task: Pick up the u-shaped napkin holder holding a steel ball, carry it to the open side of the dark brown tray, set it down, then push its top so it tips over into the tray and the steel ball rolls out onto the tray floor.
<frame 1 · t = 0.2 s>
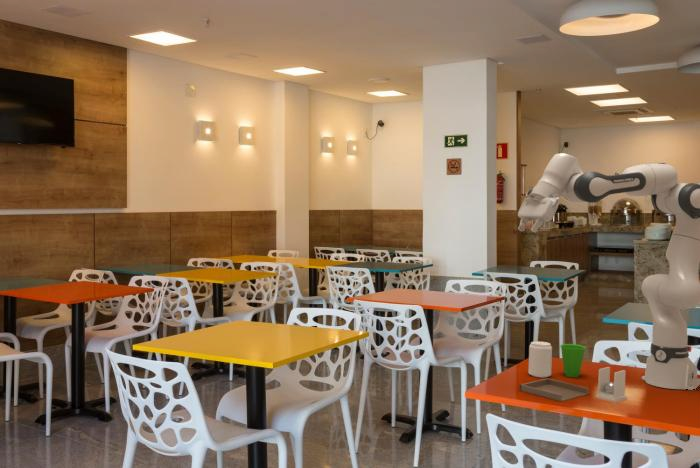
hand: (526, 231, 231), 54 cm above the table, tool tilted 30°, fingers open, 8 cm apart
tray: (553, 392, 228), on the table
cup: (571, 376, 253), on the table
u-shaped napkin holder: (611, 398, 223), on the table, touching ball
beverage can: (539, 376, 252), on the table
ball: (611, 388, 223), point 3 cm above the table, touching u-shaped napkin holder
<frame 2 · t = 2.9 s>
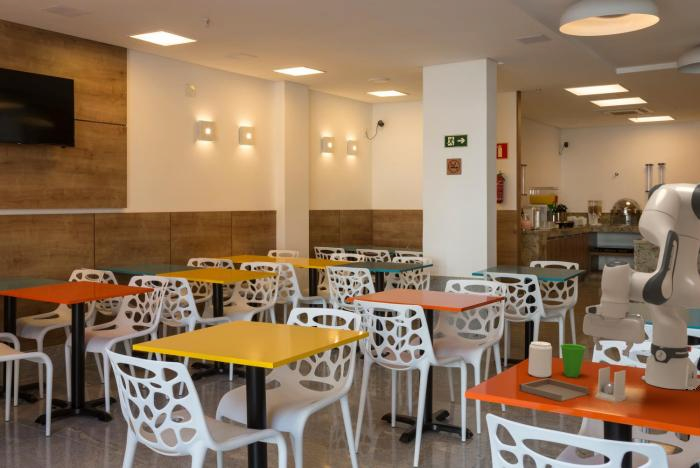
hand: (612, 352, 222), 15 cm above the table, tool pointing down, fingers open, 8 cm apart
ball: (610, 389, 223), point 3 cm above the table, tilted 15°, touching u-shaped napkin holder
everything else where it was.
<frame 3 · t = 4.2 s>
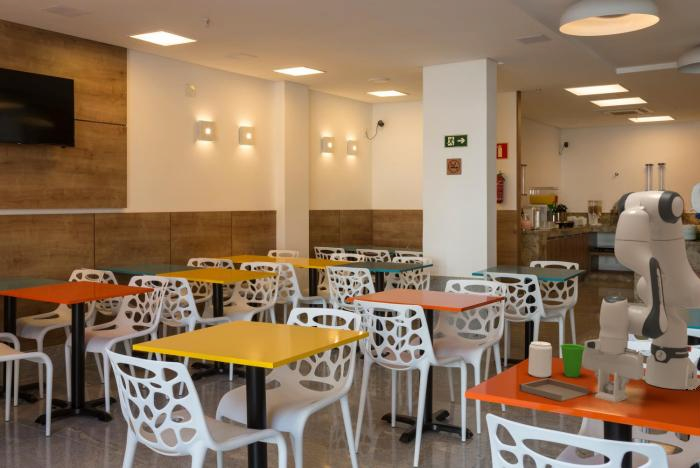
hand: (611, 387, 223), 3 cm above the table, tool pointing down, fingers closed on u-shaped napkin holder, 6 cm apart
u-shaped napkin holder: (610, 398, 223), on the table, touching ball, gripper
ball: (612, 388, 223), point 3 cm above the table, tilted 16°, touching u-shaped napkin holder
everything else where it was.
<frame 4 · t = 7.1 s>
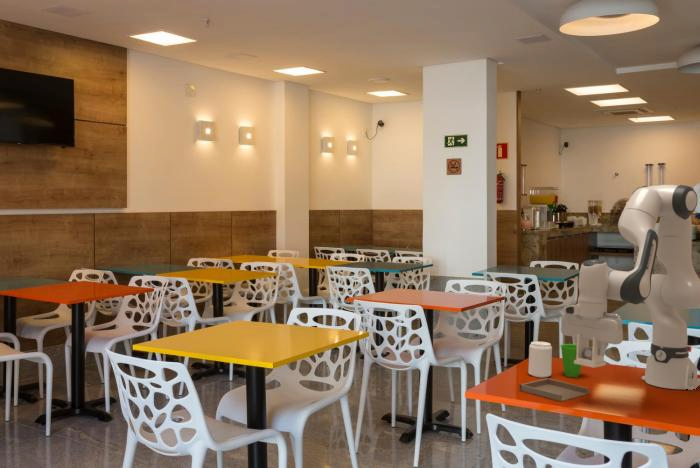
hand: (590, 353, 218), 15 cm above the table, tool pointing down, fingers closed on u-shaped napkin holder, 6 cm apart
u-shaped napkin holder: (589, 364, 218), point 12 cm above the table, touching ball, gripper
ball: (590, 353, 218), point 15 cm above the table, tilted 15°, touching u-shaped napkin holder
everything else where it was.
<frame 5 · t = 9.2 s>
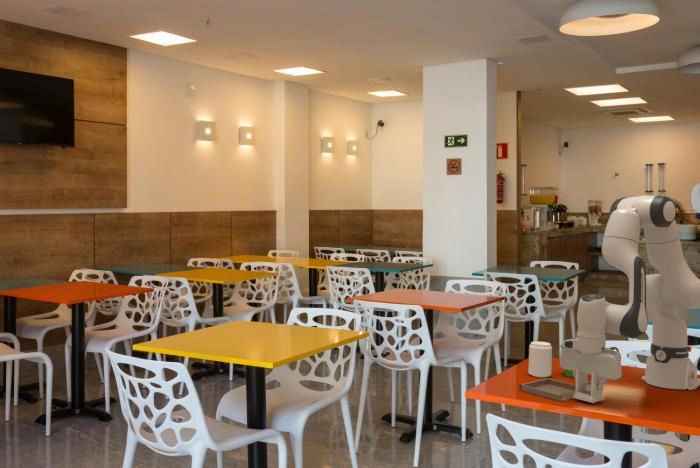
hand: (589, 387, 218), 4 cm above the table, tool pointing down, fingers closed on u-shaped napkin holder, 6 cm apart
u-shaped napkin holder: (588, 398, 218), point 1 cm above the table, touching ball, gripper
ball: (591, 388, 218), point 4 cm above the table, tilted 18°, touching u-shaped napkin holder
everything else where it was.
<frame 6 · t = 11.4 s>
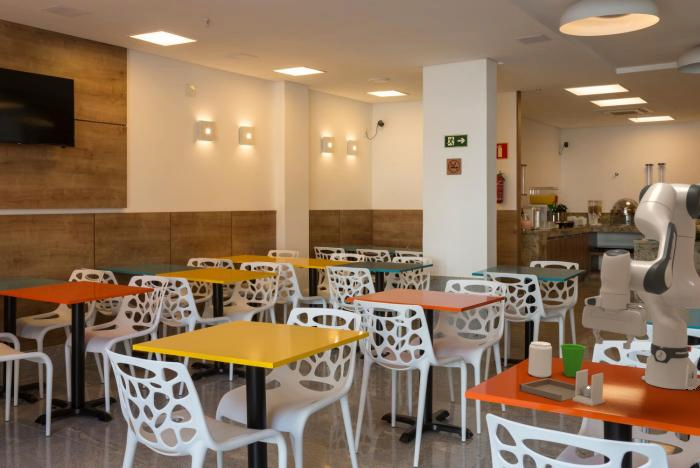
hand: (612, 346, 212), 19 cm above the table, tool pointing down, fingers open, 8 cm apart
ball: (588, 392, 218), point 3 cm above the table, tilted 7°, touching u-shaped napkin holder
everything else where it was.
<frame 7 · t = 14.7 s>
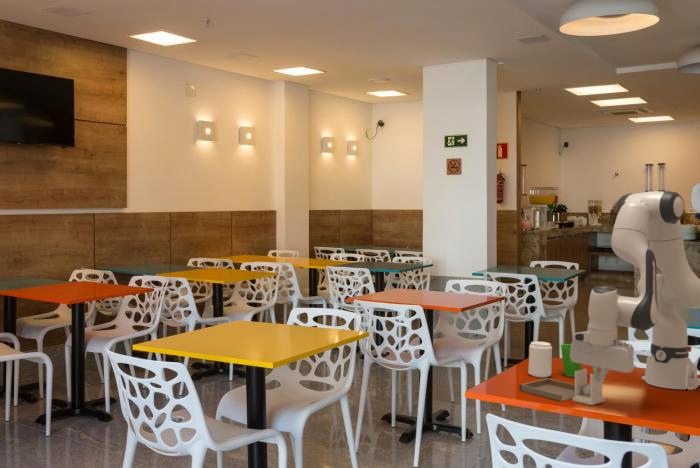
hand: (600, 381, 215), 7 cm above the table, tool pointing down, fingers closed
u-shaped napkin holder: (588, 401, 218), resting on ball, touching gripper
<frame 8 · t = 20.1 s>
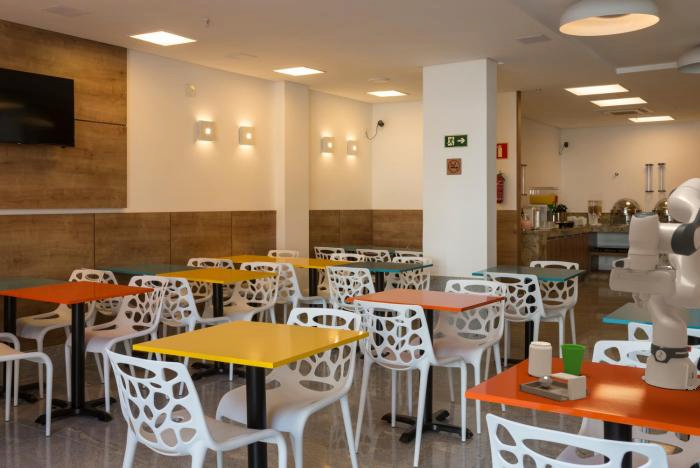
hand: (640, 307, 213), 31 cm above the table, tool pointing down, fingers closed
u-shaped napkin holder: (578, 388, 221), point 3 cm above the table, tilted 92°, touching tray
ball: (545, 381, 233), point 2 cm above the table, tilted 35°, touching tray
everything else where it was.
at the end: ball inside the target area (4.3 cm from its centre), point 2.4 cm above the table; ball point 2.4 cm above the table; u-shaped napkin holder tilted 92° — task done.
